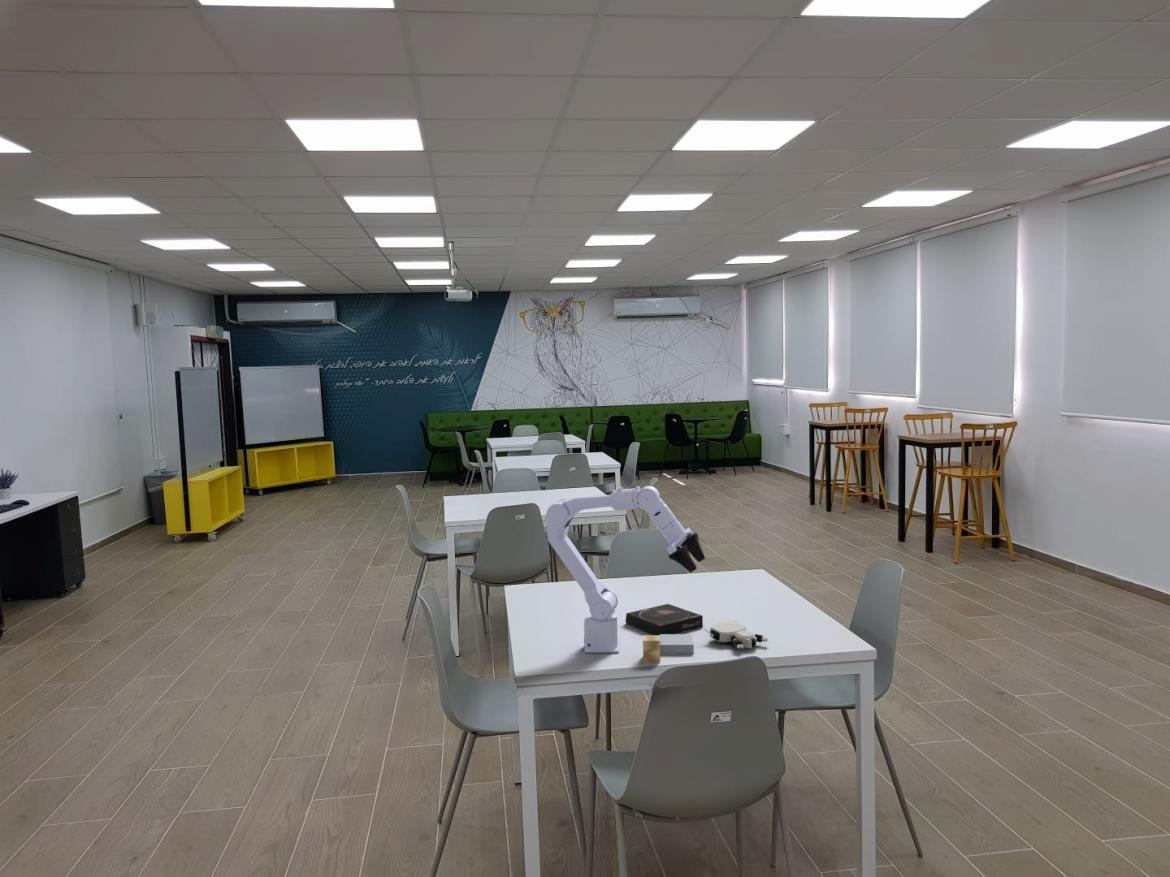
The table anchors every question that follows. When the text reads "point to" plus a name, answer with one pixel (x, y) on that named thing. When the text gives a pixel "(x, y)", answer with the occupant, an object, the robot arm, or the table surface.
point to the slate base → (676, 644)
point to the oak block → (651, 649)
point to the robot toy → (735, 635)
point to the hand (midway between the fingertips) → (698, 565)
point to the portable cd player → (664, 620)
